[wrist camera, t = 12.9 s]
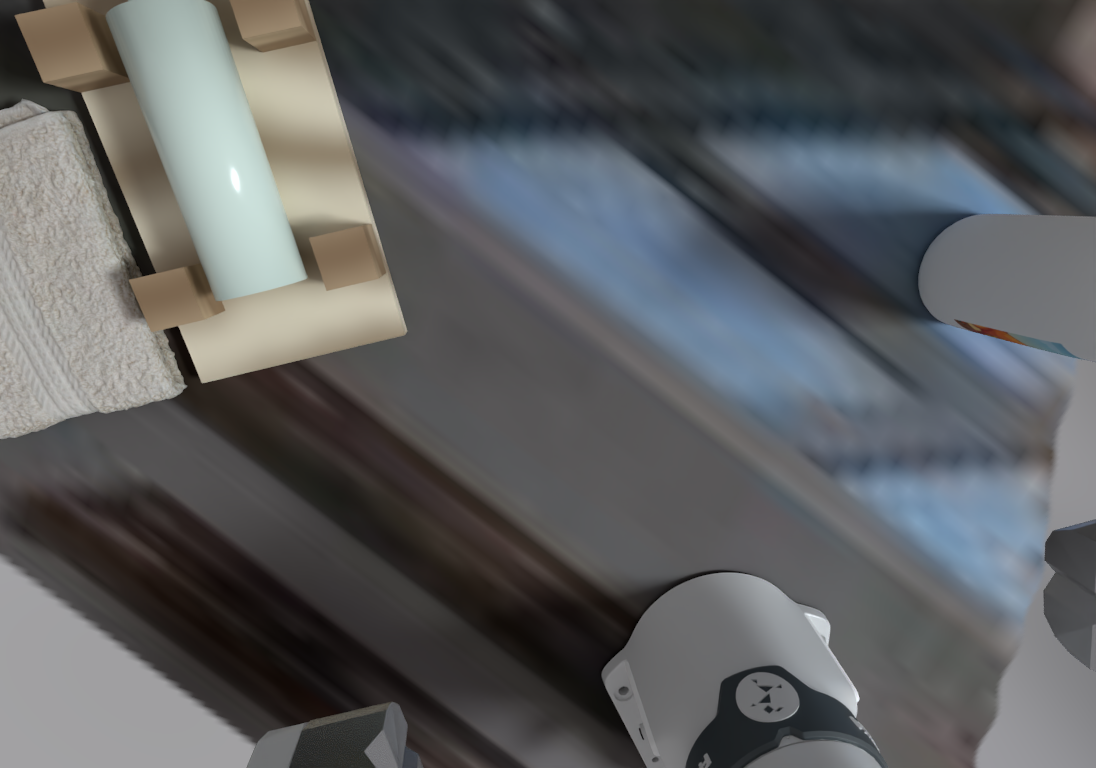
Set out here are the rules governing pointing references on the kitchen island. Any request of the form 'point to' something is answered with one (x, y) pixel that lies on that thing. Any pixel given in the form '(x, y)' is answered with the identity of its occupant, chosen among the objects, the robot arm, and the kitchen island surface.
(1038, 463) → the kitchen island surface
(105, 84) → the board
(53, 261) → the washcloth
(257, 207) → the ceramic bottle
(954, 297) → the milk bottle
